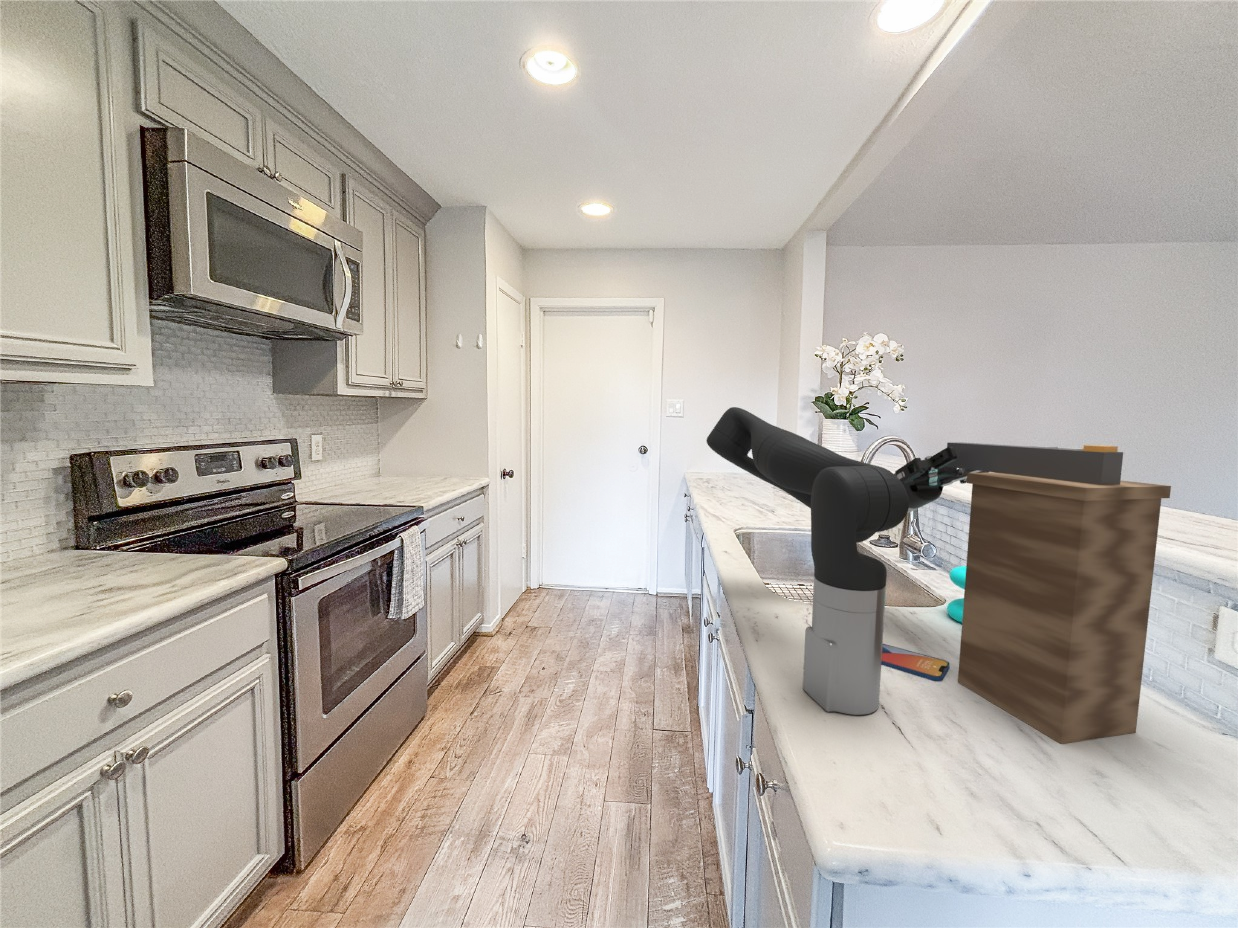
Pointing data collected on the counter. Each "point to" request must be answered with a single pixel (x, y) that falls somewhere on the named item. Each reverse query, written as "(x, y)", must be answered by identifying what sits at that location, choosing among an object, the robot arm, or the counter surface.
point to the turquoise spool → (956, 605)
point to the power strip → (1043, 461)
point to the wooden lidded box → (1059, 600)
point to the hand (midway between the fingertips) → (976, 452)
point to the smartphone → (914, 663)
